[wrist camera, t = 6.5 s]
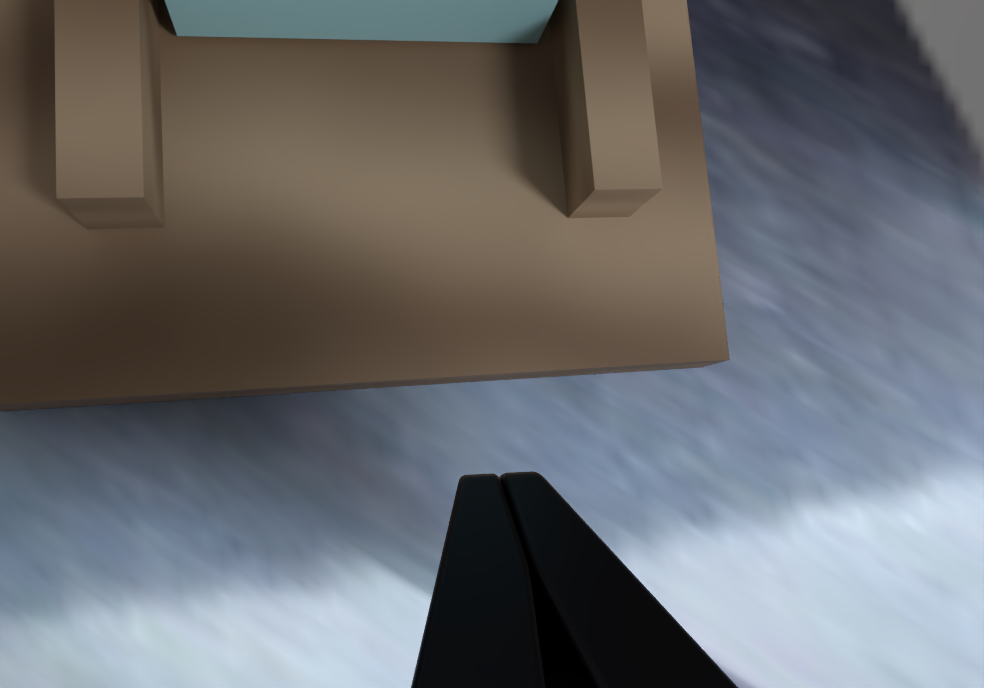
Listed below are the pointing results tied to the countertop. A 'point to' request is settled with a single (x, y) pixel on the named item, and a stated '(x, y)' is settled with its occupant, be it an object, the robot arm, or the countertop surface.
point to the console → (346, 206)
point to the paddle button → (365, 19)
